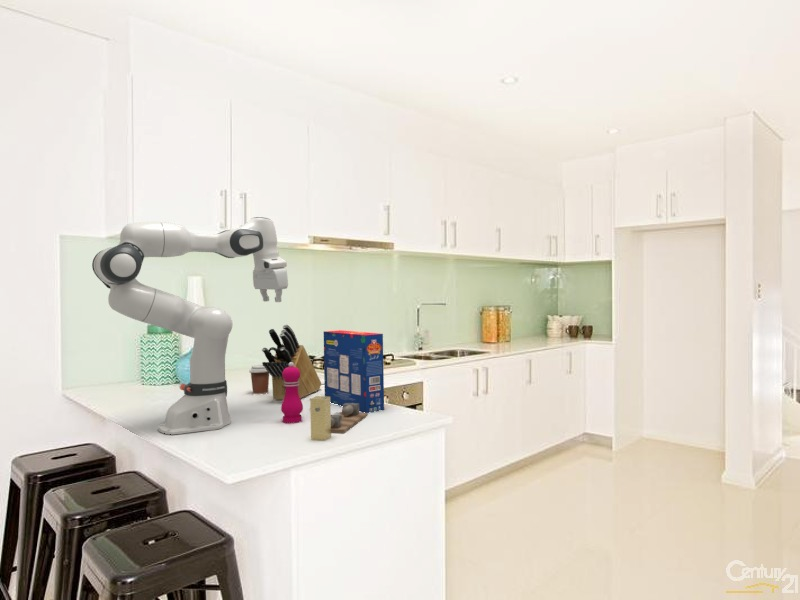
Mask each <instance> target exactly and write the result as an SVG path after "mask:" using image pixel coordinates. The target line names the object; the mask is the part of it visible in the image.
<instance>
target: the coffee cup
mask: <svg viewBox="0 0 800 600" xmlns="http://www.w3.org/2000/svg"><path fill="white" fill-rule="evenodd" d="M248 372H249V373H250V377H251V388H252V395H254V394H263V395H267V394H269V385H270V383H269V382H270V381H269V380H270V374H269V372H268V371H267V370H266V368H265V367H264V366H263V364H256V365H255V364H254V365H251V368H250V369H249V371H248ZM266 393H267V394H266Z"/></svg>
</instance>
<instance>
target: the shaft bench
mask: <svg viewBox="0 0 800 600" xmlns="http://www.w3.org/2000/svg"><path fill="white" fill-rule="evenodd" d="M368 414H369V413H363V412H359V403H345V404H343V407H342V410H341V411H340V412H339V411H338V412H335V413H333V414H331V434H345V433H347V432H348V431H349V430H351V429H352V428H353V427H354V425H355V426H356V425H357V424H359V423H360V422H362V421H363V420H364V419H365V418H367V417H368V416H367V415H368ZM366 416H367V417H366ZM363 418H364V419H363ZM362 419H363V420H362ZM358 422H359V423H358ZM350 428H351V429H350ZM346 431H347V432H346Z"/></svg>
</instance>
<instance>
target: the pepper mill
mask: <svg viewBox="0 0 800 600" xmlns="http://www.w3.org/2000/svg"><path fill="white" fill-rule="evenodd" d="M293 366H294V363H293V362H290V363H289V367H287V368H285V369H284V370H283V373H282V377H283V379H284V380H285V381H284V386H285V389H286V390H285V397H284V400H282V402H281V407H280V411H281V413H282V414H283V416H282V422H283V423H284V424H296V423H300V422H302V421H303V419H302V418H303V417H302V415H301V413H302V412H303V410H304V406H303V401H302V398H300V397H299V394H298V385H299V381H298V379H299V378H300V370H299V369H298V368H296V367H293Z"/></svg>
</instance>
